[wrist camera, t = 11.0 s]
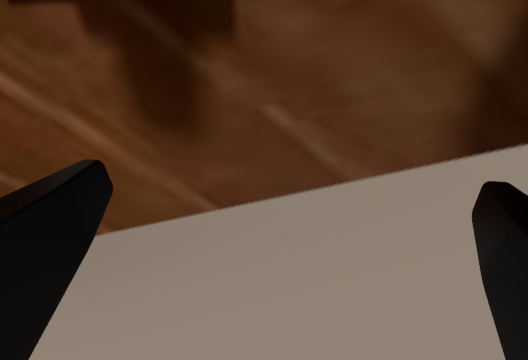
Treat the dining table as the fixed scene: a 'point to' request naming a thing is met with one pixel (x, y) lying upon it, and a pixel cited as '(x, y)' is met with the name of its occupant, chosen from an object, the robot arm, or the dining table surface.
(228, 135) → the dining table surface
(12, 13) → the dining table surface
